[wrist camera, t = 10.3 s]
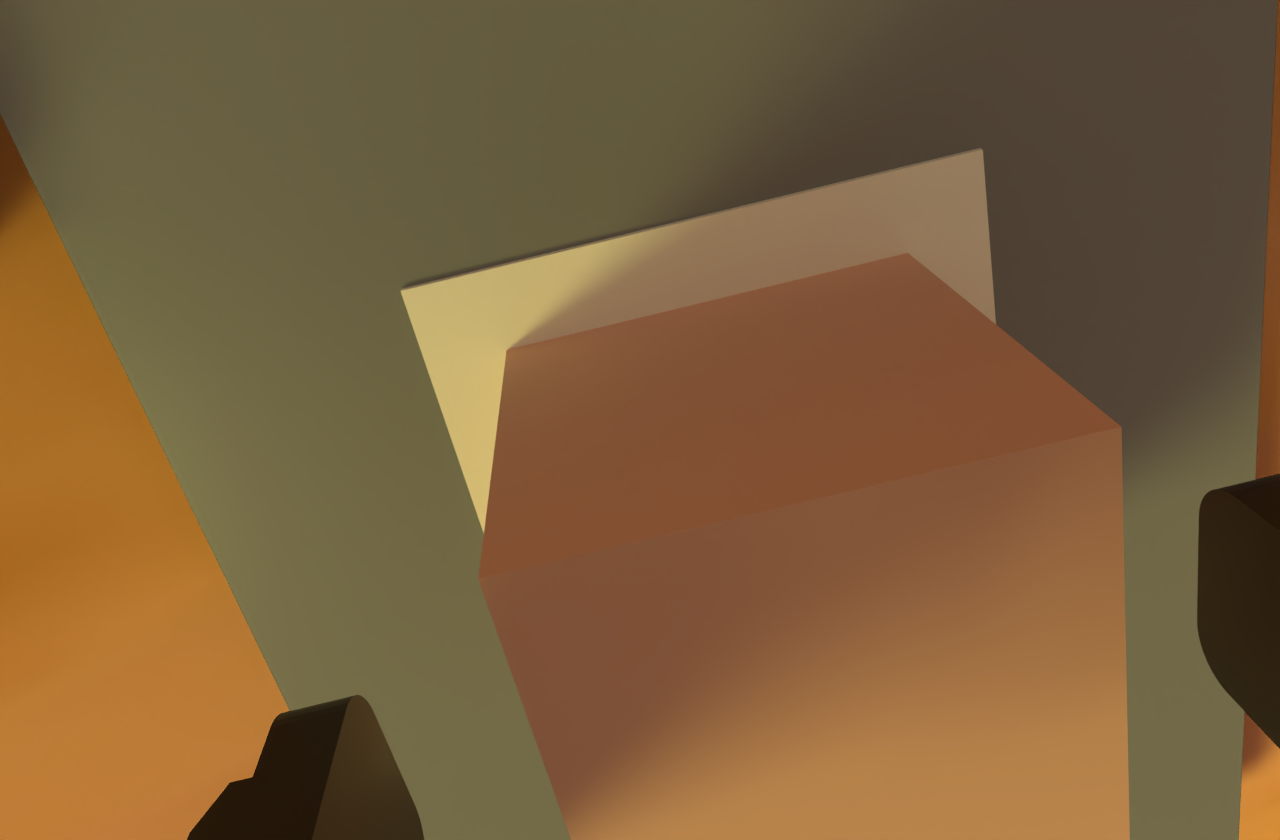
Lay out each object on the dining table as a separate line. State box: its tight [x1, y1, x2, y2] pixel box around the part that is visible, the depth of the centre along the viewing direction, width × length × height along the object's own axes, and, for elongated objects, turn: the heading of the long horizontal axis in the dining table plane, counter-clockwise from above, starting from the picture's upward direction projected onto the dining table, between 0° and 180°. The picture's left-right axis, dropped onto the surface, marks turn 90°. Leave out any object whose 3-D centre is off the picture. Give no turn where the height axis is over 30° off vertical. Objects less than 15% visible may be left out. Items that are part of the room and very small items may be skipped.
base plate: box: [0, 0, 1278, 840], centre depth 14 cm, size 14×20×2 cm
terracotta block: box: [478, 253, 1130, 840], centre depth 11 cm, size 5×5×5 cm
